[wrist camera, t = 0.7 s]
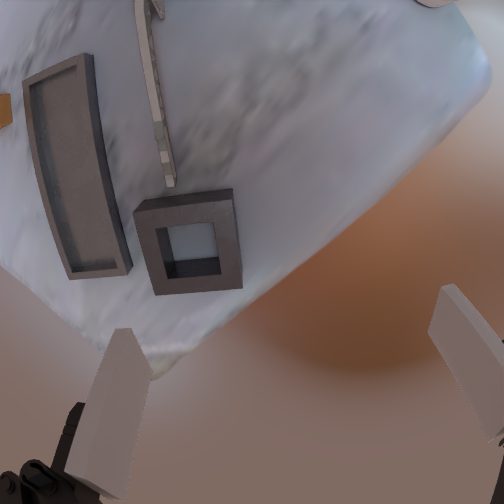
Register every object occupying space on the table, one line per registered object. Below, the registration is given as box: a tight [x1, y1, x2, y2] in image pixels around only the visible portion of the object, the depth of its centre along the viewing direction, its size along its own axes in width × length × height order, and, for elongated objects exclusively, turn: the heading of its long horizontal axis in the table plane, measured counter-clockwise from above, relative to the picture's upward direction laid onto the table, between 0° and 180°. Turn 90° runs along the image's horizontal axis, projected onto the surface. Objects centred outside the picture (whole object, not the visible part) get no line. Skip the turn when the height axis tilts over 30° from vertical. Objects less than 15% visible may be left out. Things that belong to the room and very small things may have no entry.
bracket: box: [133, 0, 177, 188], centre depth 24 cm, size 3×21×10 cm, turn 4°
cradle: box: [22, 53, 133, 280], centre depth 28 cm, size 26×9×2 cm, turn 5°
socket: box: [133, 189, 243, 295], centre depth 32 cm, size 10×10×4 cm
